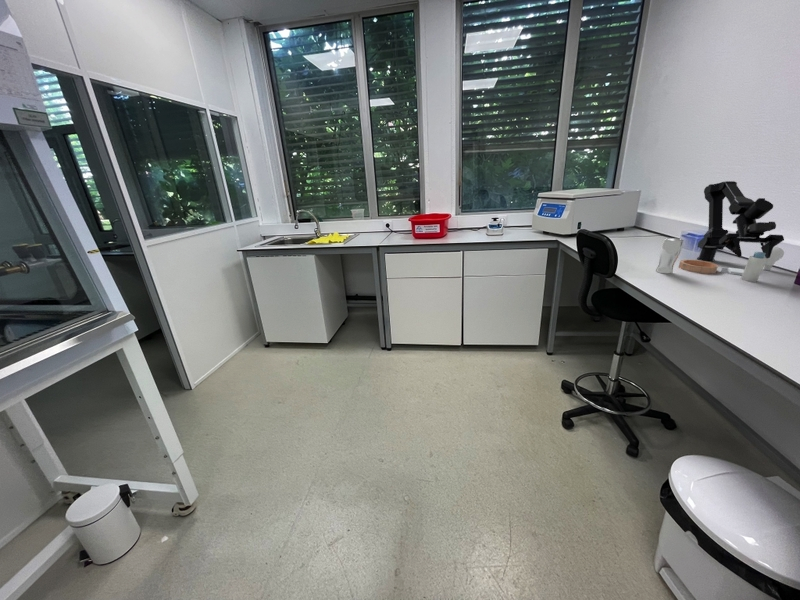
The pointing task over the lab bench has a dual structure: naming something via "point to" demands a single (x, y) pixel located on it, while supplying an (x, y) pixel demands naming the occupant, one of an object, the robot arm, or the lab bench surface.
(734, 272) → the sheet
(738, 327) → the lab bench surface
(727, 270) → the mat
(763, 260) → the bottle
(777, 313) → the lab bench surface
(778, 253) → the lightbulb
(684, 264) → the bowl
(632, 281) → the lab bench surface
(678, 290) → the lab bench surface
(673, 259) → the beer glass
